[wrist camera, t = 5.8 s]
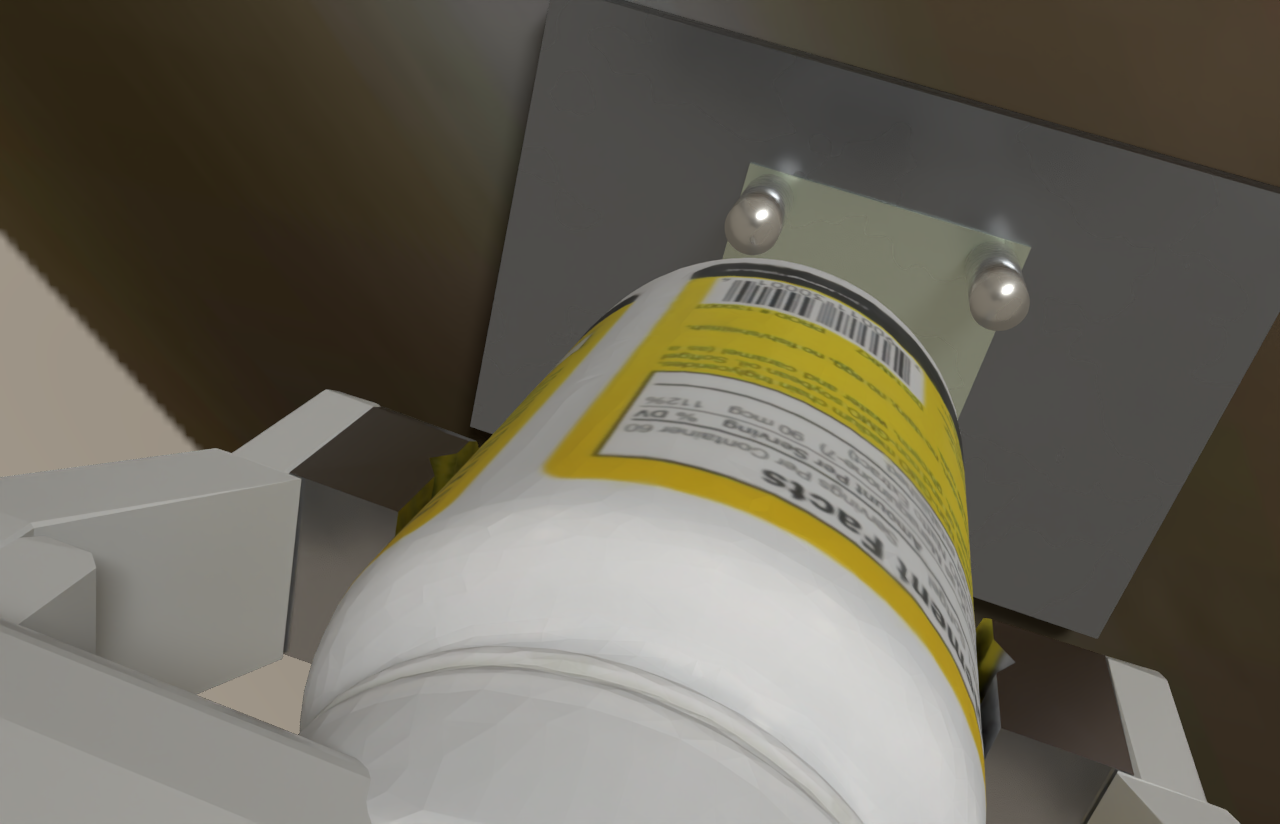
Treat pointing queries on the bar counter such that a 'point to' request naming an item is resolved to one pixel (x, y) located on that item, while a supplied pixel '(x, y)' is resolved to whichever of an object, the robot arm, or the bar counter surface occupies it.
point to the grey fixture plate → (907, 267)
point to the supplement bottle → (682, 583)
